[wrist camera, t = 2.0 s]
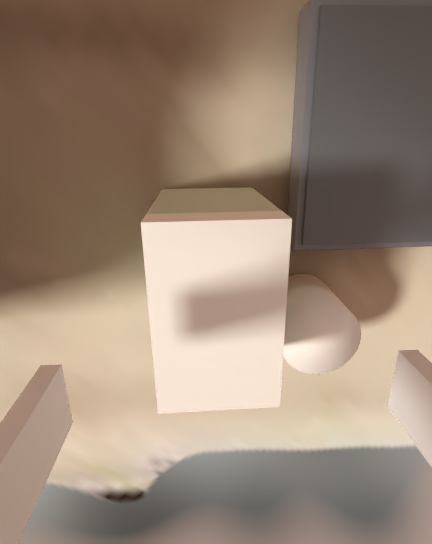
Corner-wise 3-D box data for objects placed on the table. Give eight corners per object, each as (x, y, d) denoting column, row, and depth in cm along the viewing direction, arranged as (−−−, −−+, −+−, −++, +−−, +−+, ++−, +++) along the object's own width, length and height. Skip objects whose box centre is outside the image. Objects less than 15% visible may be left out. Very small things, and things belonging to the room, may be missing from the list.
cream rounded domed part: (264, 335, 32) (279, 376, 27) (266, 275, 30) (283, 305, 24) (327, 332, 32) (355, 372, 27) (334, 272, 30) (366, 302, 25)
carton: (170, 314, 31) (157, 413, 20) (162, 188, 27) (140, 222, 16) (248, 311, 31) (279, 406, 20) (251, 187, 27) (292, 218, 16)
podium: (285, 241, 29) (295, 252, 26) (299, 12, 23) (314, -6, 21) (435, 236, 30) (460, 246, 27) (483, 13, 24) (521, -4, 21)
